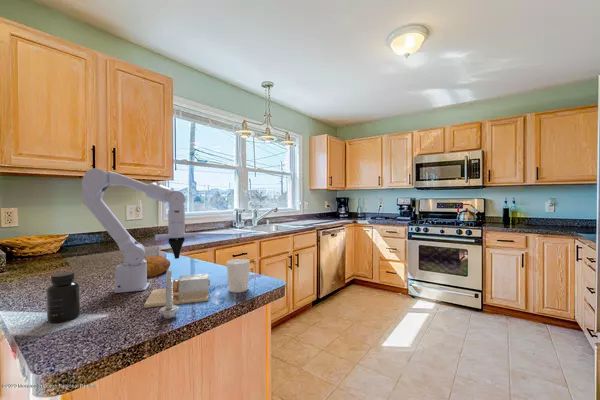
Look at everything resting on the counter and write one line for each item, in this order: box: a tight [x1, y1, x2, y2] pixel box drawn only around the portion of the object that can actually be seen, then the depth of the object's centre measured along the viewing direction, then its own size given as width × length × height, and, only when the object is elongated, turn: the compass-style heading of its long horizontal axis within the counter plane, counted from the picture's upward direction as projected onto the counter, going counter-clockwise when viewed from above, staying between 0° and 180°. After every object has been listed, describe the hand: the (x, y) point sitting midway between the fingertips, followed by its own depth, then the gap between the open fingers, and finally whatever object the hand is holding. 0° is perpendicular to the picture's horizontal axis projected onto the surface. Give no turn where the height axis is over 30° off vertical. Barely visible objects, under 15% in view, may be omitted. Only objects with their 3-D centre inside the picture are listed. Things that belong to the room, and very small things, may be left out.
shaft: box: [172, 279, 211, 293], centre depth 92 cm, size 11×4×4 cm, turn 108°
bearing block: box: [143, 273, 210, 309], centre depth 91 cm, size 18×14×6 cm
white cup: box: [226, 258, 251, 293], centre depth 98 cm, size 8×8×10 cm
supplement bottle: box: [45, 271, 81, 324], centre depth 75 cm, size 7×7×12 cm
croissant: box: [144, 255, 171, 278], centre depth 121 cm, size 14×16×8 cm
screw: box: [158, 268, 180, 320], centre depth 75 cm, size 13×5×5 cm
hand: (177, 258), depth 106 cm, fingers closed
